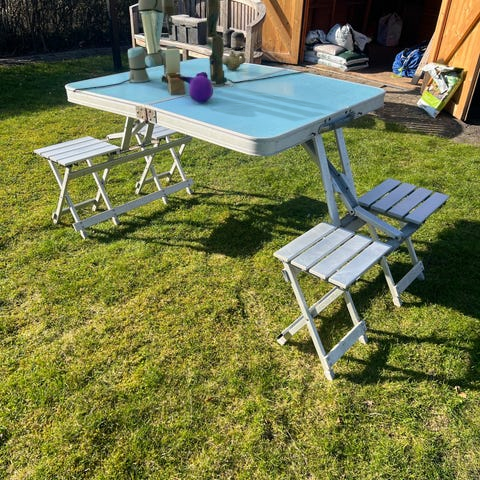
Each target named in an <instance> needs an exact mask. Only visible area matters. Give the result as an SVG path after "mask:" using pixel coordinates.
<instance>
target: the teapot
mask: <svg viewBox="0 0 480 480" xmlns="http://www.w3.org/2000/svg"><path fill="white" fill-rule="evenodd" d="M240 58H241V59H240ZM245 62H246V56H245V54H244V52H242V51H241V52H239V53H238V54H236V53H235V51H234V50H231V51H230V53H229V56H225V57H223V66H225V67H226V69H227V70H228V71H236V70H238V69H239V68H240V67H241V65H243V64H244V63H245Z"/></svg>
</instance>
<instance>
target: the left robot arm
mask: <svg viewBox="0 0 480 480" xmlns="http://www.w3.org/2000/svg"><path fill="white" fill-rule="evenodd" d="M137 4H138V6H137V7H138V13H139V14H140V17H141V22H142V23H141V24H142V29H143V34H144V39H145V40H144V41H145V45H144V47H143V46H134V47H131V48H129V49H127V57H128V66H129V76H128V79H127V80H123V81H121V82H118V83H111V84H106V85H99V86H89V87H83V88H82V87H81V88H75V89H73V92H72V93H76V91H84V90H91V89H100V88H107V87H113V86H118V85H122V84H125V83H127V82H129V83H133V84H141V83H148V82H150V76H149V74H148V71H147V67H148V68H155V67H162V66H163V75H162V76H161V78H160V79H161V83H164V84H167V85H168V79H167V68H166V52H165V50H166V49H164V50H163V49H162V47H161V45H160V44H161V36H162V31H163V30H162V29H163V24H164V18H165V17H164V16H165V14H163V13H162V2H161V0H138V3H137ZM172 74H177V73H172ZM182 76H183V77H186V76H185V75H182Z"/></svg>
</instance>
